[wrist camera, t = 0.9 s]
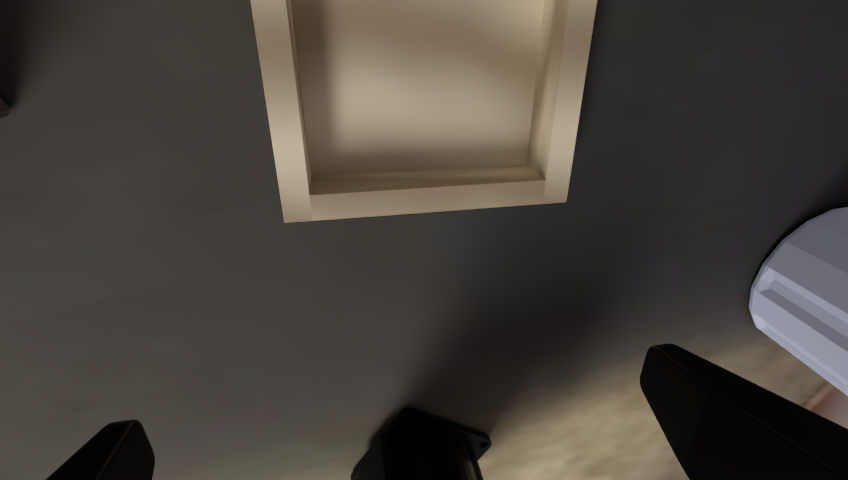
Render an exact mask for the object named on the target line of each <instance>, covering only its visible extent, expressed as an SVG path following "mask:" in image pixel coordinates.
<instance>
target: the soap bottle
mask: <svg viewBox="0 0 848 480" xmlns="http://www.w3.org/2000/svg"><path fill="white" fill-rule="evenodd" d="M749 309H750V312H751V315H752V318H753V321H754V324H755V325H756V327H757V328H758V329H760V330H761V331H762V332H764V333H765V334H766V335H767V336H769V337H770V338H771V339H773V340H774V341H775V342H777V343H778V344H779V345H781V346H782V347H783V348H785V349H786V350H787V351H789V352H790V353H791V354H793V355H794V356H795V357H797V358H798V359H799V360H801V361H802V362H803V363H805V364H806V365H807V366H809V367H810V368H811V369H813V370H814V371H815V372H817V373H818V374H819V375H821V376H822V377H823V378H825V379H826V380H827V381H829V382H830V383H831V384H833V385H834V386H835V387H836V388H838V389H839V390H841V391H842V392H843V393H844V394H846V395H847V396H848V207H844V208H838V209H832V210H830V211H828V212H826V213H824V214H821V215H819V216H817V217H815V218H813V219H811V220H809V221H807V222H805V223H804V224H803V225H801V226H800V227H799V228H798V229H796V230H795V231H794V232H792V233H791V234H790V235H788V236H787V237H786V238H785V239H783V240H782V241H781V242H780V244H779V245H778V246H777V247H776V248H775V250H774V251H773V252H772V253H771V254H770V256H769V257H768V258H767V259H766V260H765V261H764V263H763V264H762V266H761V268H760V270H759V272H758V274H757V276H756V279H755V281H754V283H753V285H752V287H751V294H750V302H749Z"/></svg>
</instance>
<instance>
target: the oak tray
mask: <svg viewBox="0 0 848 480" xmlns="http://www.w3.org/2000/svg"><path fill="white" fill-rule="evenodd" d="M596 5H597V0H251V7H252V13H253V20H254V27H255V33H256V40H257V46H258V53H259V59H260V66H261V73H262V79H263V86H264V92H265V99H266V105H267V112H268V119H269V125H270V132H271V138H272V145H273V152H274V158H275V165H276V171H277V178H278V184H279V191H280V198H281V204H282V211H283V217H284V223H289V222H303V221H316V220H330V219H344V218H357V217H371V216H385V215H398V214H412V213H426V212H439V211H453V210H466V209H480V208H494V207H507V206H521V205H535V204H548V203H562V202H566V201H567V194H568V188H569V181H570V175H571V168H572V162H573V155H574V149H575V142H576V136H577V129H578V123H579V116H580V109H581V103H582V96H583V90H584V83H585V77H586V70H587V64H588V57H589V51H590V44H591V38H592V31H593V25H594V18H595V12H596Z"/></svg>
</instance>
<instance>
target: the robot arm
mask: <svg viewBox="0 0 848 480" xmlns="http://www.w3.org/2000/svg"><path fill="white" fill-rule="evenodd" d="M640 385H641V388H642V391H643V393H644V395H645V397H646V399H647V401H648V403H649V405H650V407H651V409H652V411H653V413H654V415H655V417H656V418H657V420H658V422H659V424H660V426H661V428H662V430H663V432H664V434H665V436H666V438H667V440H668V442H669V444H670V446H671V448H672V450H673V451H674V453H675V455H676V457H677V459H678V461H679V462H680V464H681V466H682V468H683V469H684V471H685V473H686V474H687V476H688V478H689V479H690V480H848V429H846V428H844V427H842V426H840V425H838V424H836V423H834V422H832V421H830V420H828V419H826V418H824V417H822V416H820V415H817V414H816V413H814V412H812V411H810V410H808V409H805V408H803V407H801V406H799V405H797V404H795V403H793V402H791V401H789V400H787V399H785V398H783V397H781V396H779V395H777V394H775V393H773V392H771V391H769V390H767V389H765V388H762V387H760V386H758V385H756V384H754V383H752V382H750V381H748V380H746V379H744V378H742V377H740V376H738V375H736V374H734V373H732V372H730V371H728V370H726V369H724V368H722V367H719V366H717V365H715V364H713V363H711V362H709V361H707V360H705V359H703V358H701V357H699V356H697V355H695V354H693V353H691V352H689V351H687V350H685V349H683V348H681V347H679V346H676V345H674V344H662V345H654V346H651V347H650V348H649V349H648V351H647V354H646V358H645V361H644V365H643V368H642V372H641V375H640ZM407 417H408V418H407ZM491 443H492V442H491V440H490V437H489V435H487V434H485V433H482V432H479V431H476V430H473V429H471V428H468V427H465V426H462V425H459V424H456V423H453V422H450V421H448V420H445V419H442V418H439V417H436V416H433V415H430V414H427V413H425V412H422V411H419V410H416V409H413V408H406V409H404V410H402V411H401V412H400V413H399V415H398V416H397V417H396V418H395V420H394V421H393V422H392V424H391V425H390V426H389V427H388V429H387V430H386V431H385V432H384V434H383V435H382V436H381V437H380V438H379V439H378V440H377V441H376V443H375V444H374V445H373V446H372V448H371V449H370V450H369V451H368V453H367V454H366V455H365V456H364V458H363V459H362V460H361V462H360V463H359V465H358V466H357V468H356V469H355V470H354V471H353V473H352V474H351V480H483V477H482V474H481V471H480V468H479V465H478V462H477V461H478V460H479V459H480V457H481V456H482V455H483V454H484V453H485V452H486V451H487V450H488V449H489V448H490V446H491ZM154 465H155V457H154V452H153V449H152V447H151V445H150V442H149V440H148V438H147V435H146V433H145V431H144V428H143V426H142V424H141V423H140V422H139V421H138V420H134V419H133V420H126V421H119V422H113V423H110V424H108V425H106V426H105V427H104V428H102V429H101V430H100V431H99V432H98V433H97V434H96V435H95V436H93V437H92V438H91V439H90V440H89V441H88V442H87V443H86V444H85V445H83V446H82V447H81V448H80V449H79V450H78V451H77V452H76V453H75V454H74V455H72V456H71V457H70V458H69V459H68V460H67V461H66V462H65V463H64V464H62V465H61V466H60V467H59V468H58V469H57V470H56V471H55V472H54V473H52V474H51V475H50V476H49V477H48V478H47V479H46V480H152V476H153V471H154Z"/></svg>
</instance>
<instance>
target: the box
mask: <svg viewBox="0 0 848 480" xmlns="http://www.w3.org/2000/svg"><path fill="white" fill-rule="evenodd" d="M9 113H10V110H9V108H8V106H7V105H6V104H5V102H4V101H3V100H2V99H1V97H0V118H3V117H5V116H7V115H8V114H9Z"/></svg>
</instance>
